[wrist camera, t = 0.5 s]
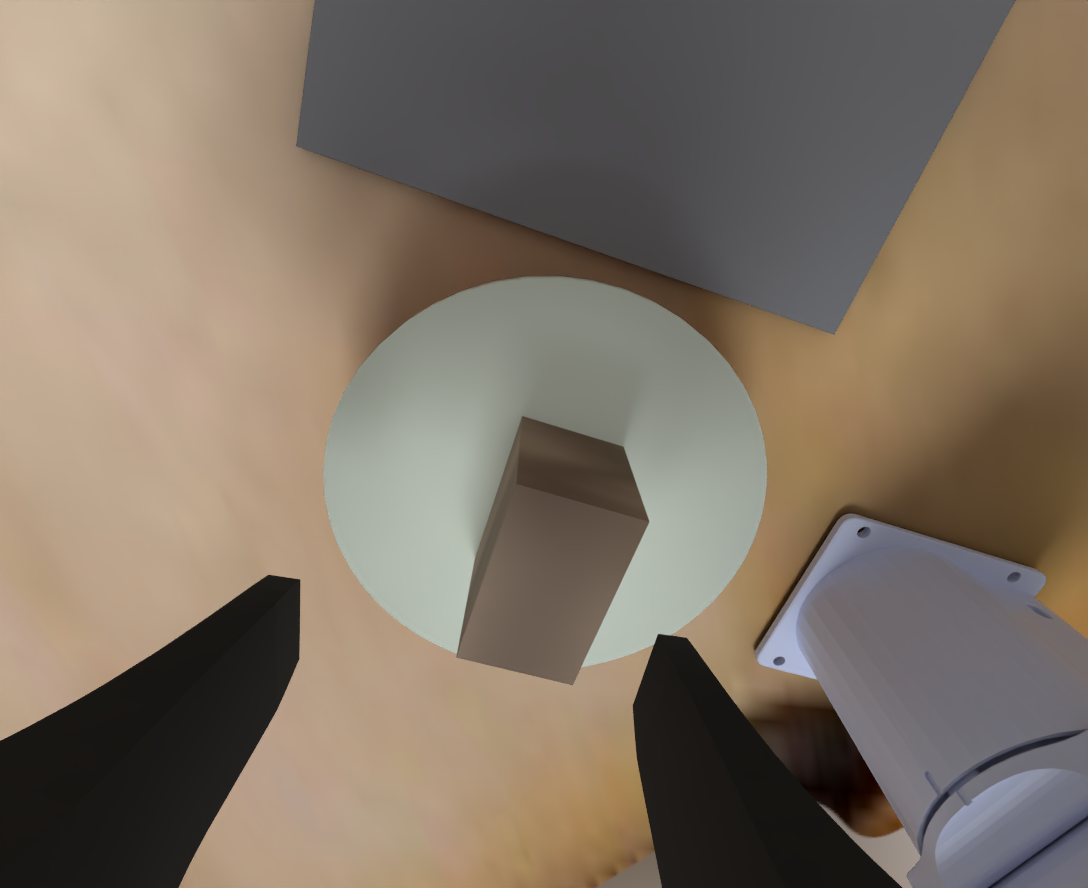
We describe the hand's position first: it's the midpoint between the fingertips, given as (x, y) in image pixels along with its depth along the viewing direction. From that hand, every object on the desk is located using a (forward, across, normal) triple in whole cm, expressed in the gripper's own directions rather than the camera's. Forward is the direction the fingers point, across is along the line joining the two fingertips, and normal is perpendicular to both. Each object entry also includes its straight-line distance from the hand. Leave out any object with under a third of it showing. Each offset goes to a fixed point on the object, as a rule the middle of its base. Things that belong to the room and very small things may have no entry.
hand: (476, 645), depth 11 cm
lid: (+6, -1, 0) cm, 6 cm away
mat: (+10, -2, -13) cm, 17 cm away
